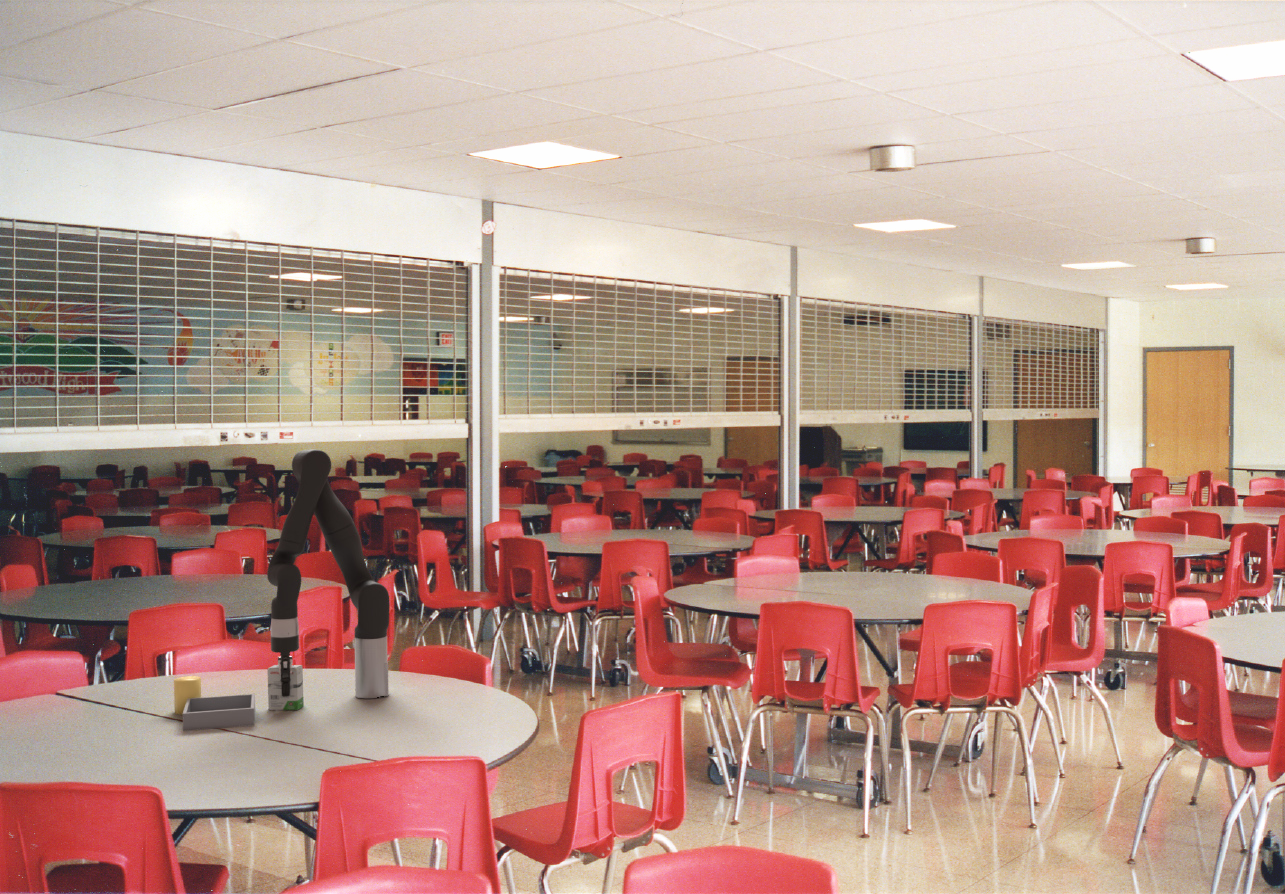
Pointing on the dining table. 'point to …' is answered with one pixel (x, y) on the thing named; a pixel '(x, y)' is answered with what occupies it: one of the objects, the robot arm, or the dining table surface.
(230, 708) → the bus tub
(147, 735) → the dining table surface
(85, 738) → the dining table surface
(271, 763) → the dining table surface
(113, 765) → the dining table surface
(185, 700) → the yellow rounded cylinder
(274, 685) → the ink box
